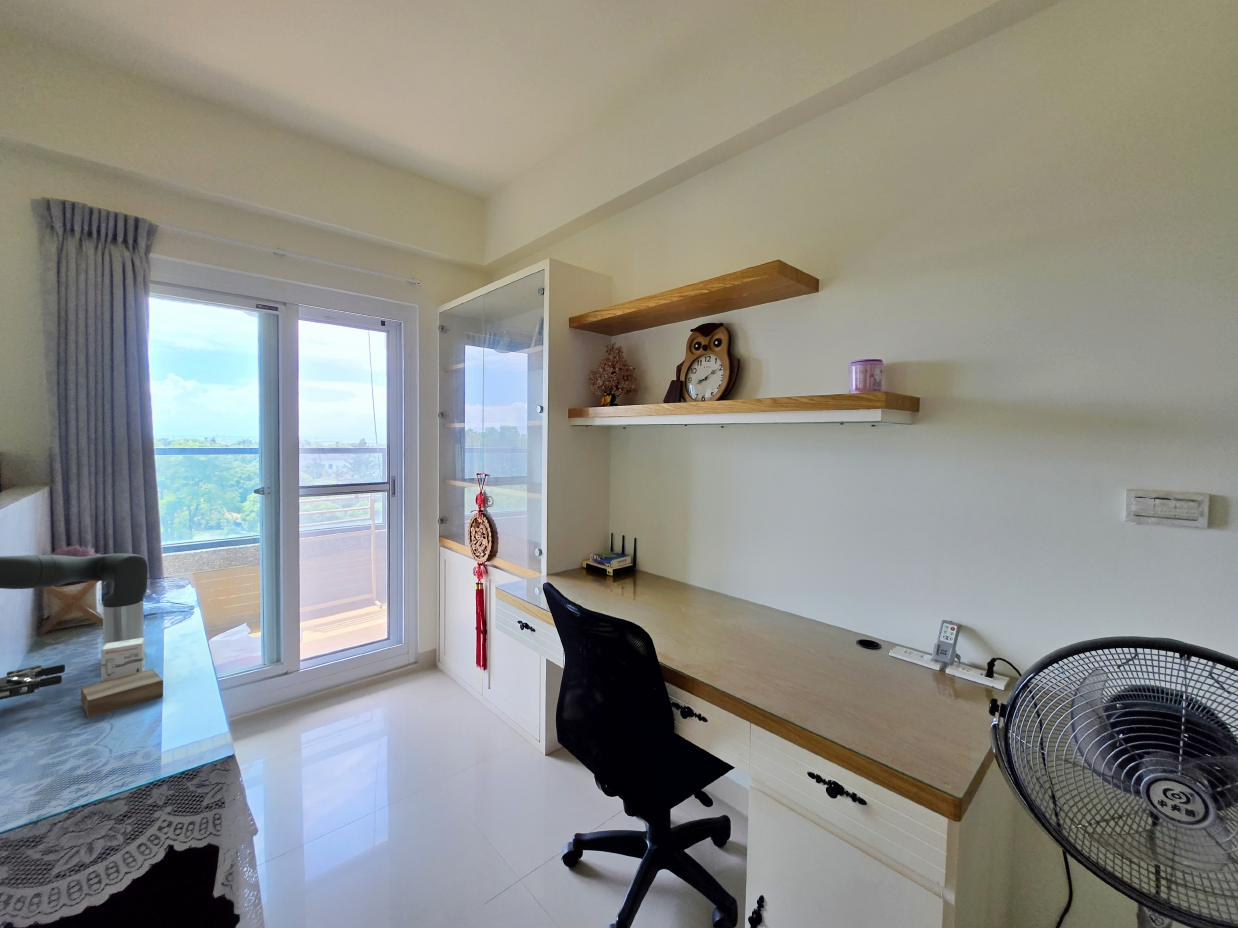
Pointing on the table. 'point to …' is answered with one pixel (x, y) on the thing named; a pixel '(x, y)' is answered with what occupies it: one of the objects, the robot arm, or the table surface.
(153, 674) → the walnut block
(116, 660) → the ink box
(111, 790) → the table surface
